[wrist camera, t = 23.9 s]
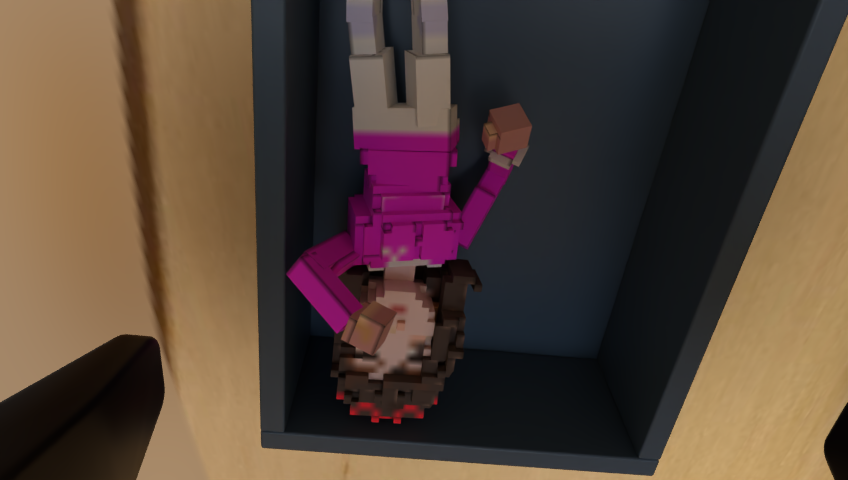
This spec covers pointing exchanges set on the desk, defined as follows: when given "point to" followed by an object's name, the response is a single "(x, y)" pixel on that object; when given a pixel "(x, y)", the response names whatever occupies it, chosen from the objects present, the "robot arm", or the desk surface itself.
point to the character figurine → (404, 222)
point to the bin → (541, 213)
